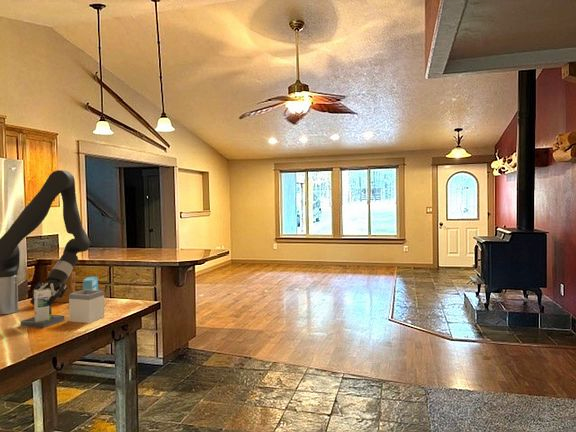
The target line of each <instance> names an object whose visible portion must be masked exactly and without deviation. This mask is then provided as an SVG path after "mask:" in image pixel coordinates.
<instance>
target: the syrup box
mask: <svg viewBox="0 0 576 432" xmlns="http://www.w3.org/2000/svg"><path fill="white" fill-rule="evenodd" d="M33 296H34V306H33V307H34V308H33V309H34V310H33V311H34V312H33V313H34V316H33V317H34V318H35V322H43V323H44V322H46V321H49V320H52V315H53V314H52V313H53V312H52V307H53V304H52V305H51V306H48V305H47V302H48V300H49V299H50V297H51V290H50V289H39V290H34V295H33Z"/></svg>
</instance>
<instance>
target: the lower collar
mask: <svg viewBox="0 0 576 432" xmlns="http://www.w3.org/2000/svg"><path fill="white" fill-rule="evenodd" d="M65 318H66V317H65V315H57V314H52V320H49V321H46V322H44V323H43V322H35V318H34V316H33V317H29V318H26V319H23V320H20V327H27V328H28V327H29V328H40V329H44V328H48V327H51V326H53V325H55V324H58V323H62V322H64V321H65V320H66V319H65Z"/></svg>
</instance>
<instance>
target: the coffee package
mask: <svg viewBox="0 0 576 432" xmlns="http://www.w3.org/2000/svg"><path fill="white" fill-rule="evenodd" d="M58 261H59V259H54V258H52V259H51V264H50V271H51V270H52V269H53V267H54V266H55V265H56V264H57V262H58ZM75 266H76V265H75ZM75 266H74V268H73V269H72V272H71V274H70V275H69V277H68V278H67V280H66V282H65V283H64V284H65V285H66V286H67V289H66V291H65V293H64V294H63V296H62V297H61V298H57V299H56V300H55V301H54V303H60V304H61V303H62V304H63V303H69V294H71V293H75V292H76V290H75V289H76V270H75V269H76V267H75ZM60 294H61V293H60ZM51 296H52V294H51Z"/></svg>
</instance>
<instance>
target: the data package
mask: <svg viewBox="0 0 576 432" xmlns="http://www.w3.org/2000/svg"><path fill="white" fill-rule="evenodd" d="M82 290H99V277H98V276H88V277H86V278H84V279H83V281H82Z"/></svg>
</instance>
